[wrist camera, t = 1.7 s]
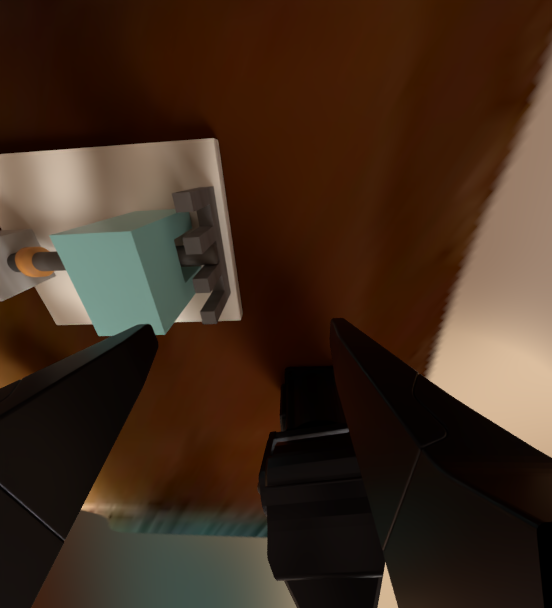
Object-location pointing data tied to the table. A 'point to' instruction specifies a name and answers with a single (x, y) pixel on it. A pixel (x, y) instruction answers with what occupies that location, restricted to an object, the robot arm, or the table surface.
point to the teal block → (129, 269)
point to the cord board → (110, 203)
